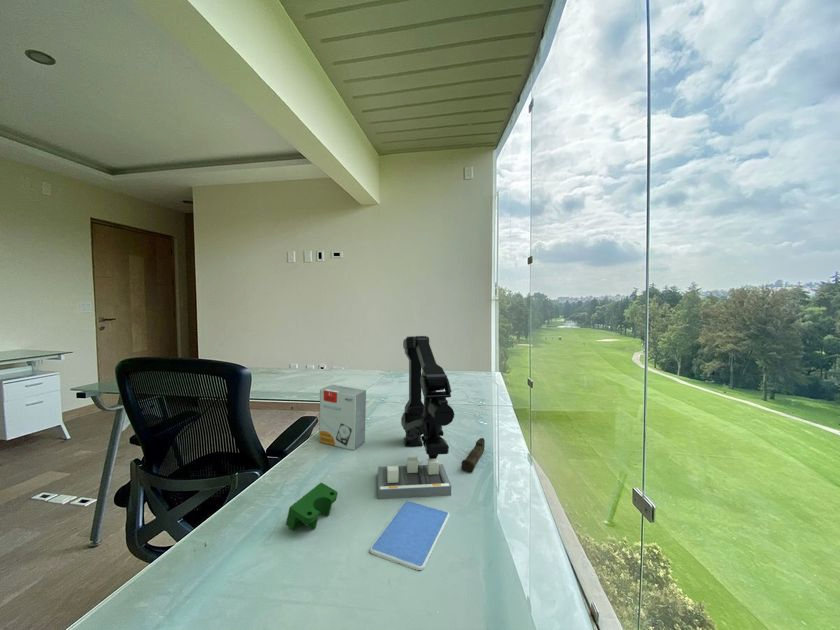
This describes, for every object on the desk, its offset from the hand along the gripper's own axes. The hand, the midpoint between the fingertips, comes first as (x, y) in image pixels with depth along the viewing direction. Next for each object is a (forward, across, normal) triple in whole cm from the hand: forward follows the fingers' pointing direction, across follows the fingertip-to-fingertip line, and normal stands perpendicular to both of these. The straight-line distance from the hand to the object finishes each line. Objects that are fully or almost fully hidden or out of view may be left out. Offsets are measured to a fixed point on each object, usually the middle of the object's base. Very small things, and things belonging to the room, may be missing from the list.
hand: (431, 463), depth 101 cm
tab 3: (+1, +3, 0) cm, 3 cm away
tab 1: (+1, +6, -12) cm, 13 cm away
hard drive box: (+4, -25, -29) cm, 39 cm away
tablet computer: (+5, +23, -8) cm, 25 cm away
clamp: (+4, +16, -32) cm, 36 cm away
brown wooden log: (+5, -10, +16) cm, 20 cm away
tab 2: (+1, +1, -6) cm, 6 cm away
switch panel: (+4, +4, -6) cm, 8 cm away
